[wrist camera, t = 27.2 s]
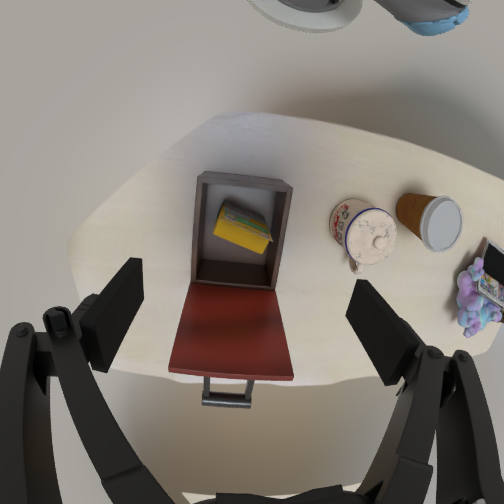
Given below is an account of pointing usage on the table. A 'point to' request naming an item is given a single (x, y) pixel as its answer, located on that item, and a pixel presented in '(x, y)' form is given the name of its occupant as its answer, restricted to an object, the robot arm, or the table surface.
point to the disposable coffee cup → (431, 219)
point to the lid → (231, 340)
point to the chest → (228, 253)
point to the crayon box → (242, 227)
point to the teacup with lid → (363, 232)
